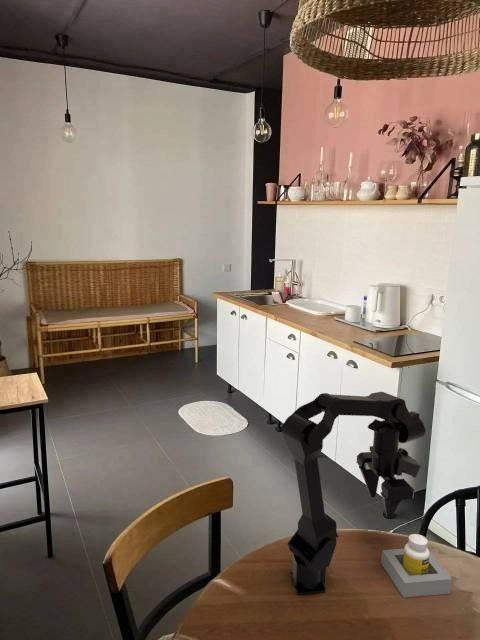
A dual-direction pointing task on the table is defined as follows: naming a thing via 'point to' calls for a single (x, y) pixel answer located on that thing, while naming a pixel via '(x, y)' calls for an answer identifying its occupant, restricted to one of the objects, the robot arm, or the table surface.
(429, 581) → the well
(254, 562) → the table surface
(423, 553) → the supplement bottle
